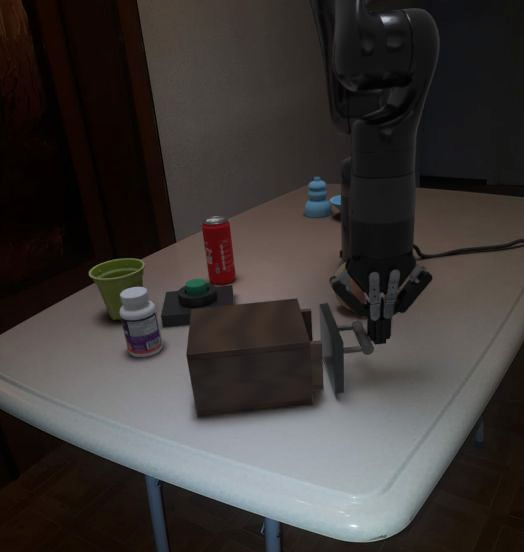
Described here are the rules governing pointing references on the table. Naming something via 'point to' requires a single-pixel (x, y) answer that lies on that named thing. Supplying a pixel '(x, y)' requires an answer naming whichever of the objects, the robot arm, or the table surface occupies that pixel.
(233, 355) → the cabinet
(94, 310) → the table surface
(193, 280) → the button
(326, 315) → the drawer
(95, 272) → the plant pot
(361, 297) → the apple
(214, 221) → the beverage can
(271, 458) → the table surface
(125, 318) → the pill bottle
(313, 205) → the blue tiered piece
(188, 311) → the control block
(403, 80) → the robot arm
